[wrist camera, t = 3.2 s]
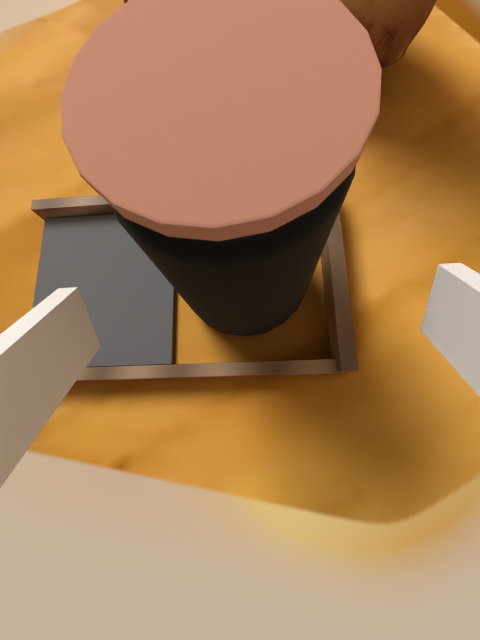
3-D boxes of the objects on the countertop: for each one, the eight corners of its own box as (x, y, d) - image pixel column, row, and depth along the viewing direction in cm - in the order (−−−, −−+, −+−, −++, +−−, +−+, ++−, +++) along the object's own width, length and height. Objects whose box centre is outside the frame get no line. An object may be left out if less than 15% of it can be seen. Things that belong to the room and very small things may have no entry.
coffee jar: (256, 206, 29) (246, -76, 12) (330, 289, 27) (461, 91, 9) (164, 271, 28) (4, 72, 11) (233, 363, 26) (170, 302, 8)
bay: (21, 383, 27) (-9, 382, 24) (45, 211, 31) (22, 192, 28) (347, 372, 25) (358, 370, 22) (327, 191, 29) (334, 169, 26)
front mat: (28, 369, 27) (24, 368, 26) (48, 221, 30) (45, 218, 30) (173, 364, 26) (171, 363, 26) (176, 212, 29) (175, 210, 29)
